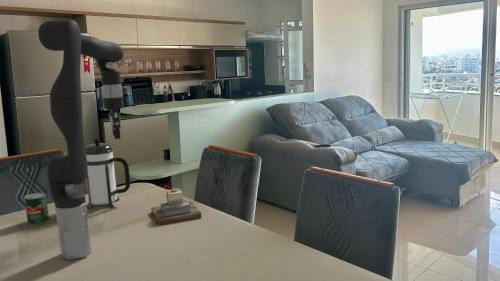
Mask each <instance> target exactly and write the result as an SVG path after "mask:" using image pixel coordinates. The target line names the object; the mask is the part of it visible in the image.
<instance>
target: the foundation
mask: <svg viewBox="0 0 500 281" xmlns="http://www.w3.org/2000/svg"><path fill="white" fill-rule="evenodd" d="M151 213H152V215H153V217H154V220H155V221H156V223H157V225H158V226H161V225H166V224H171V223H172V224H173V223H179V222H185V221H189V220H195V219H201V218H202V212H201V211H200V210H199V208H198V207H197V206H196V205H195V204H194V202H192V200H191V201H187V199H186V198H185V197H183V204H181V205H174V206H169V205H168V203H167V200H162V201H160V205H159V206H152V207H151Z"/></svg>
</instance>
